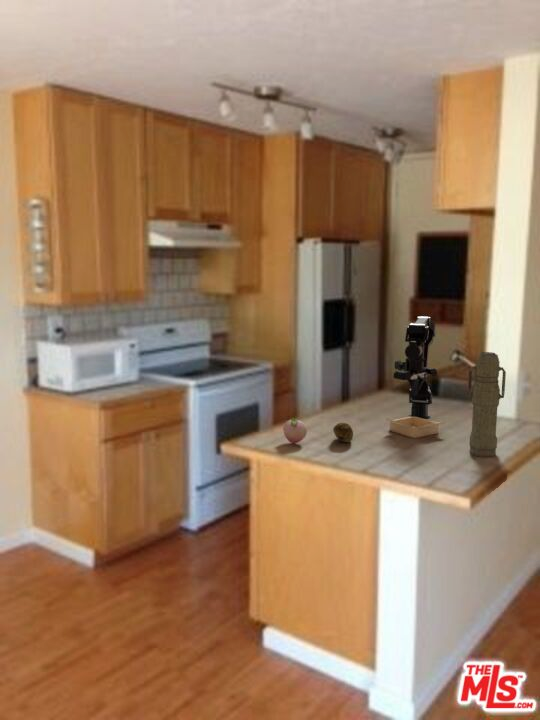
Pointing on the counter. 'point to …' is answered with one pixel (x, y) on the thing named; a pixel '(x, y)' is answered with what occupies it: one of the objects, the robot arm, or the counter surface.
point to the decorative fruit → (294, 430)
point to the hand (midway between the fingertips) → (414, 395)
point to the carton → (414, 427)
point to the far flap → (398, 422)
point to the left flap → (431, 424)
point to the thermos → (485, 404)
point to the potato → (343, 432)
